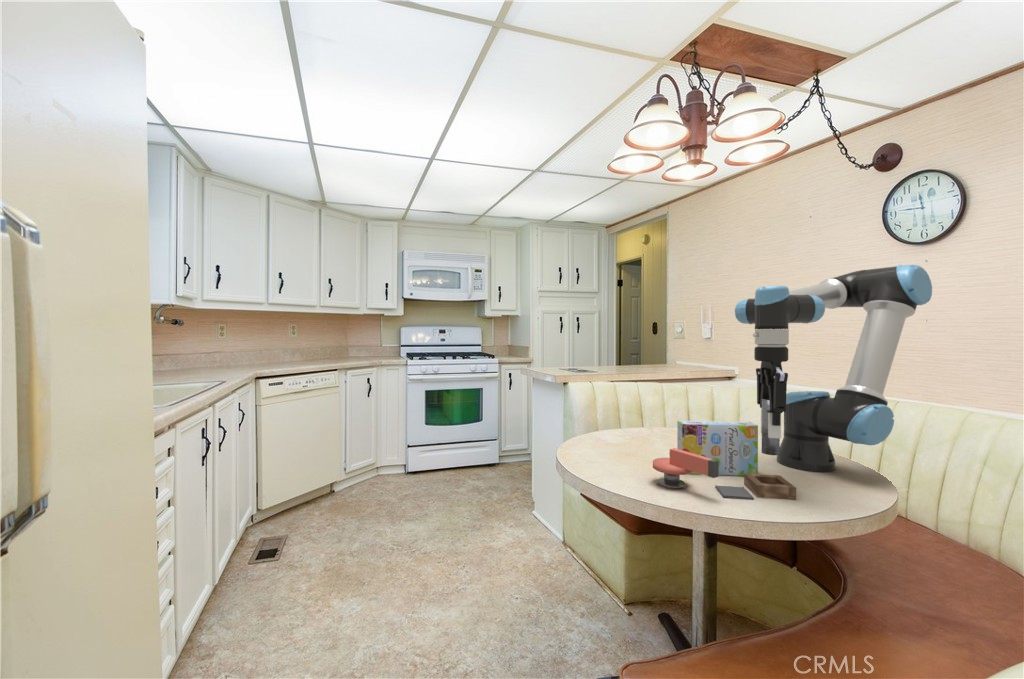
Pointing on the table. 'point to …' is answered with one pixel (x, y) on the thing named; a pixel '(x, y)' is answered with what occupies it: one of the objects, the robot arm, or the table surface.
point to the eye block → (769, 486)
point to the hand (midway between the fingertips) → (770, 435)
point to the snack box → (722, 444)
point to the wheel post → (671, 481)
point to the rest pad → (734, 492)
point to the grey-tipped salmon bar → (686, 464)
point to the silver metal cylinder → (768, 444)
